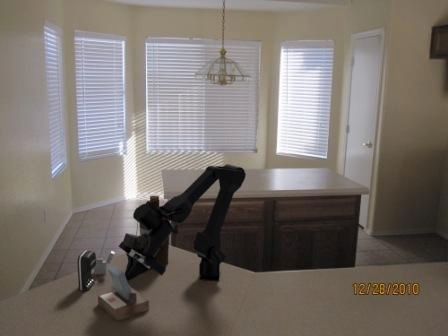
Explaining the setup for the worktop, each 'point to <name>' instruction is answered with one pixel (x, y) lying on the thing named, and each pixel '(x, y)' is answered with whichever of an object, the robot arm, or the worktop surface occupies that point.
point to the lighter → (103, 264)
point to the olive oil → (163, 254)
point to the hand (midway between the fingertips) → (123, 281)
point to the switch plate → (113, 300)
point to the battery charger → (86, 269)
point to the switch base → (132, 307)
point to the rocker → (120, 282)
